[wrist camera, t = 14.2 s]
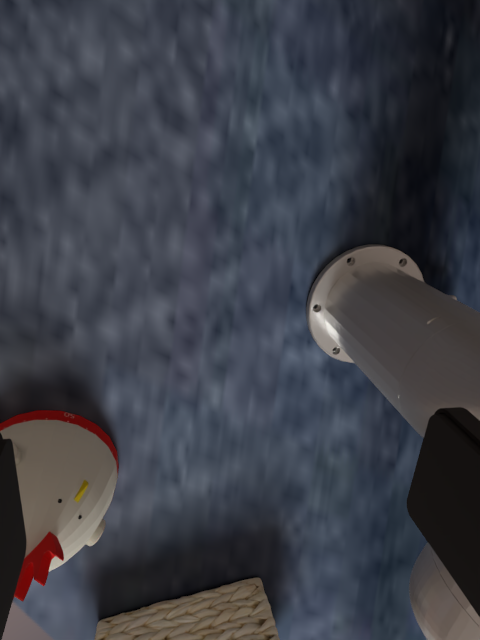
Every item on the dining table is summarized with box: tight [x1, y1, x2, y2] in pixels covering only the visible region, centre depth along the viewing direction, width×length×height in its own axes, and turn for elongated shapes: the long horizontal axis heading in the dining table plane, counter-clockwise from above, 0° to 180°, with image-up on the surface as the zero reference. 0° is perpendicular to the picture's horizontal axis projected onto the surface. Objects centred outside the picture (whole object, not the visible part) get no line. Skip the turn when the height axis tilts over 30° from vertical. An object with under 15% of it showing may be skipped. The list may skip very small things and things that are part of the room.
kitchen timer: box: [0, 410, 119, 601], centre depth 40 cm, size 14×14×15 cm
